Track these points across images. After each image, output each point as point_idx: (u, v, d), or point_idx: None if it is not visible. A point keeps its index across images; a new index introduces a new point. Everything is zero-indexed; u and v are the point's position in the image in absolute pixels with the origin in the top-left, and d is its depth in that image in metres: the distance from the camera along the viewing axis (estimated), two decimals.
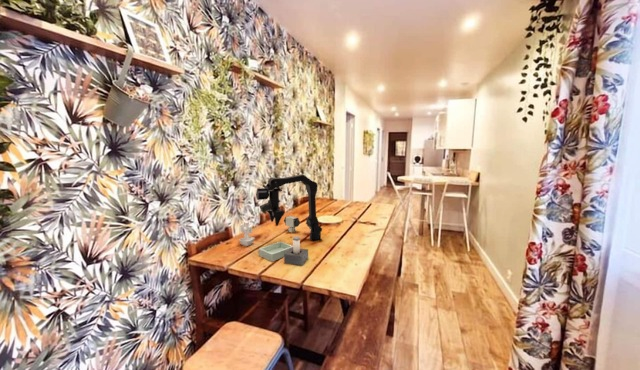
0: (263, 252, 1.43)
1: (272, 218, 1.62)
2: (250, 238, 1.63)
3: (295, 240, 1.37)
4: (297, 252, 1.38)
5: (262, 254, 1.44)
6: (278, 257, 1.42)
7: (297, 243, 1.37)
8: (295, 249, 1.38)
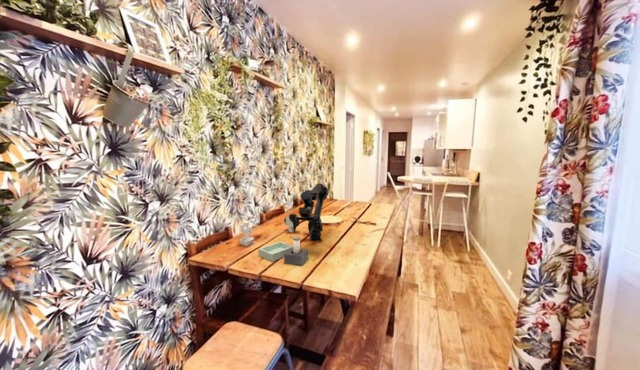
0: (263, 252, 1.43)
1: (295, 228, 1.49)
2: (250, 238, 1.63)
3: (295, 240, 1.37)
4: (297, 252, 1.38)
5: (262, 254, 1.44)
6: (278, 257, 1.42)
7: (297, 243, 1.37)
8: (295, 249, 1.38)
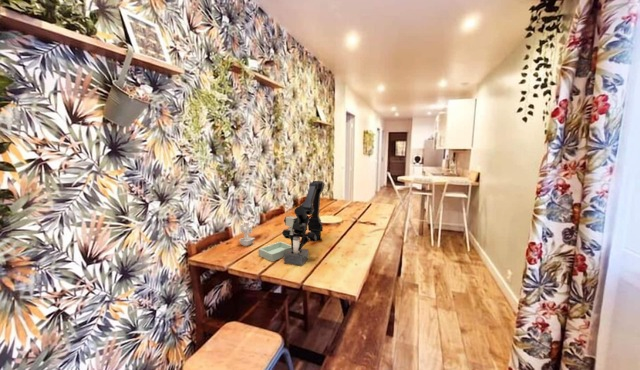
0: (263, 252, 1.43)
1: None
2: (250, 238, 1.63)
3: (295, 240, 1.37)
4: (297, 252, 1.38)
5: (262, 254, 1.44)
6: (278, 257, 1.42)
7: (297, 243, 1.37)
8: (295, 249, 1.38)
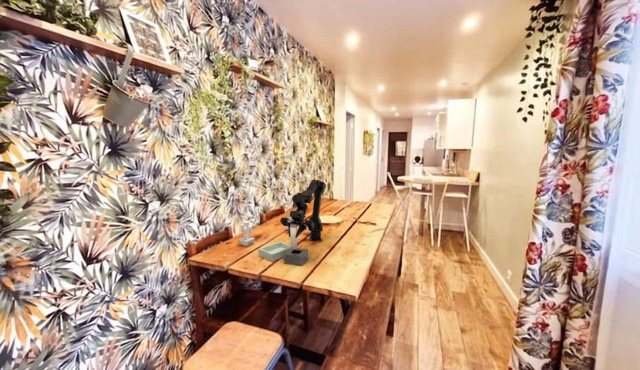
0: (263, 252, 1.43)
1: None
2: (250, 238, 1.63)
3: (292, 227, 1.37)
4: (294, 239, 1.38)
5: (262, 254, 1.44)
6: (278, 257, 1.42)
7: (294, 230, 1.37)
8: (292, 236, 1.37)
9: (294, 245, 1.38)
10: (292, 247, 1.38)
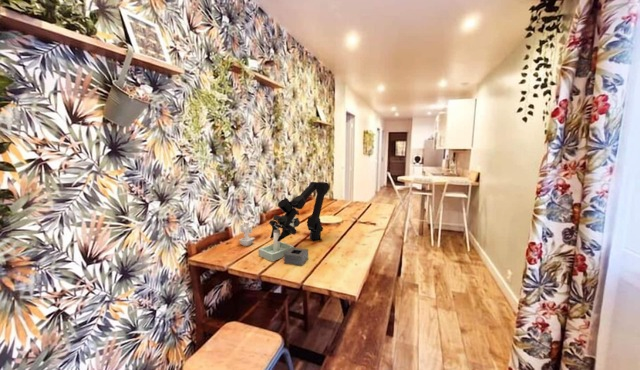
0: (263, 252, 1.43)
1: (273, 235, 1.49)
2: (250, 238, 1.63)
3: (274, 232, 1.46)
4: (276, 244, 1.46)
5: (262, 254, 1.44)
6: (278, 257, 1.42)
7: (276, 235, 1.46)
8: (274, 241, 1.46)
9: (276, 250, 1.46)
10: (274, 251, 1.47)
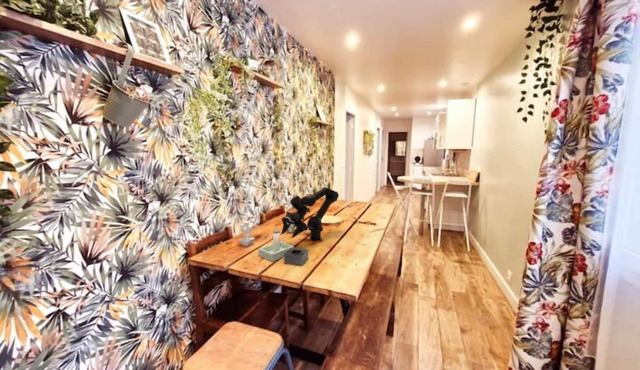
0: (263, 252, 1.43)
1: (284, 231, 1.57)
2: (250, 238, 1.63)
3: (274, 233, 1.45)
4: (275, 244, 1.46)
5: (262, 254, 1.44)
6: (278, 257, 1.42)
7: (276, 236, 1.45)
8: (274, 241, 1.46)
9: (276, 250, 1.46)
10: (274, 251, 1.47)
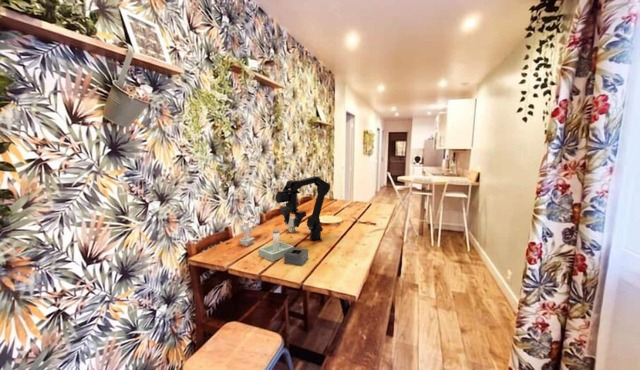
0: (263, 252, 1.43)
1: (287, 220, 1.62)
2: (250, 238, 1.63)
3: (273, 233, 1.45)
4: (275, 244, 1.46)
5: (262, 254, 1.44)
6: (278, 257, 1.42)
7: (275, 236, 1.45)
8: (274, 241, 1.46)
9: (276, 250, 1.46)
10: (274, 251, 1.47)
